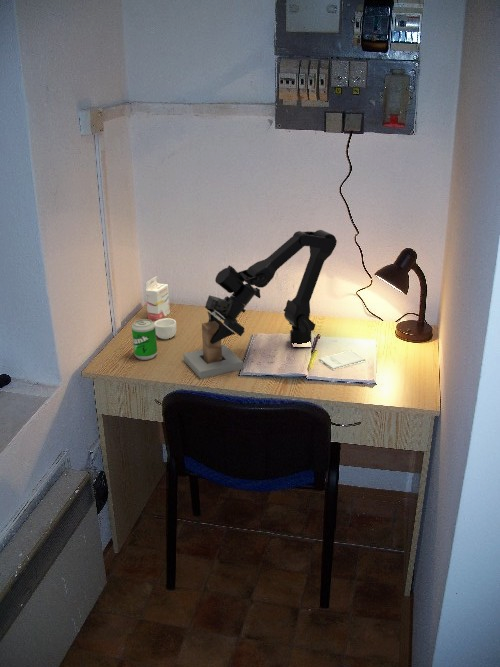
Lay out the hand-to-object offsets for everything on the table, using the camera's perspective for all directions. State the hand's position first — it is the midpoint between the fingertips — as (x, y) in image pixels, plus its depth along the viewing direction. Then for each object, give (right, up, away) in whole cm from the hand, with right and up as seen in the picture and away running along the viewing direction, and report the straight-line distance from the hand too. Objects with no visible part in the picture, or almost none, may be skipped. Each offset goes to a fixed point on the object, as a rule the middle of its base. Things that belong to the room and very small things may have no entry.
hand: (207, 339), depth 206 cm
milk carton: (-21, +8, +42) cm, 48 cm away
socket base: (+1, -8, +4) cm, 9 cm away
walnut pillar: (+1, -7, +4) cm, 8 cm away
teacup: (-16, +1, +26) cm, 31 cm away
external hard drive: (+43, -8, +5) cm, 44 cm away
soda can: (-21, -6, +11) cm, 24 cm away
